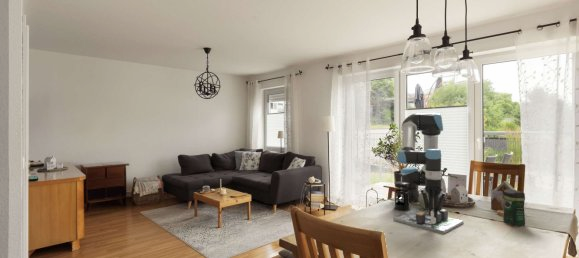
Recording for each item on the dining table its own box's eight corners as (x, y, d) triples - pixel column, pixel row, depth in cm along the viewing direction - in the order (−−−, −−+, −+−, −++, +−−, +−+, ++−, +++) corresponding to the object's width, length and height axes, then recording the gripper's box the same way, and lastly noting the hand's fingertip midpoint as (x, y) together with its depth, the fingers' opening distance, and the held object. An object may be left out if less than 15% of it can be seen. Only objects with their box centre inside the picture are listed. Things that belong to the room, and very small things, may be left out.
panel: (414, 212, 186) (414, 209, 186) (463, 223, 165) (463, 220, 165) (393, 220, 171) (393, 217, 171) (443, 234, 150) (443, 230, 150)
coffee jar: (528, 226, 159) (528, 191, 158) (513, 227, 158) (513, 192, 158) (514, 220, 168) (514, 187, 168) (500, 221, 168) (500, 188, 168)
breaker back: (442, 216, 172) (442, 208, 172) (447, 217, 169) (447, 209, 169) (438, 218, 169) (438, 210, 169) (444, 219, 167) (444, 211, 167)
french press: (391, 206, 199) (391, 172, 199) (405, 206, 200) (404, 172, 199) (399, 211, 187) (398, 175, 187) (413, 211, 188) (413, 174, 188)
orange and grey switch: (420, 220, 166) (419, 212, 165) (425, 221, 163) (425, 213, 163) (415, 221, 163) (415, 213, 163) (421, 223, 160) (421, 215, 160)
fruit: (422, 205, 202) (422, 183, 201) (439, 209, 192) (439, 186, 192) (413, 208, 196) (413, 185, 195) (430, 212, 186) (430, 188, 186)
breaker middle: (435, 219, 167) (435, 211, 167) (441, 220, 164) (441, 212, 164) (432, 221, 164) (432, 213, 164) (437, 222, 162) (437, 214, 161)
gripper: (417, 177, 160) (417, 221, 160) (442, 181, 150) (442, 227, 150) (424, 176, 165) (424, 218, 165) (449, 179, 154) (449, 224, 155)
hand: (433, 223), depth 158 cm, fingers closed
